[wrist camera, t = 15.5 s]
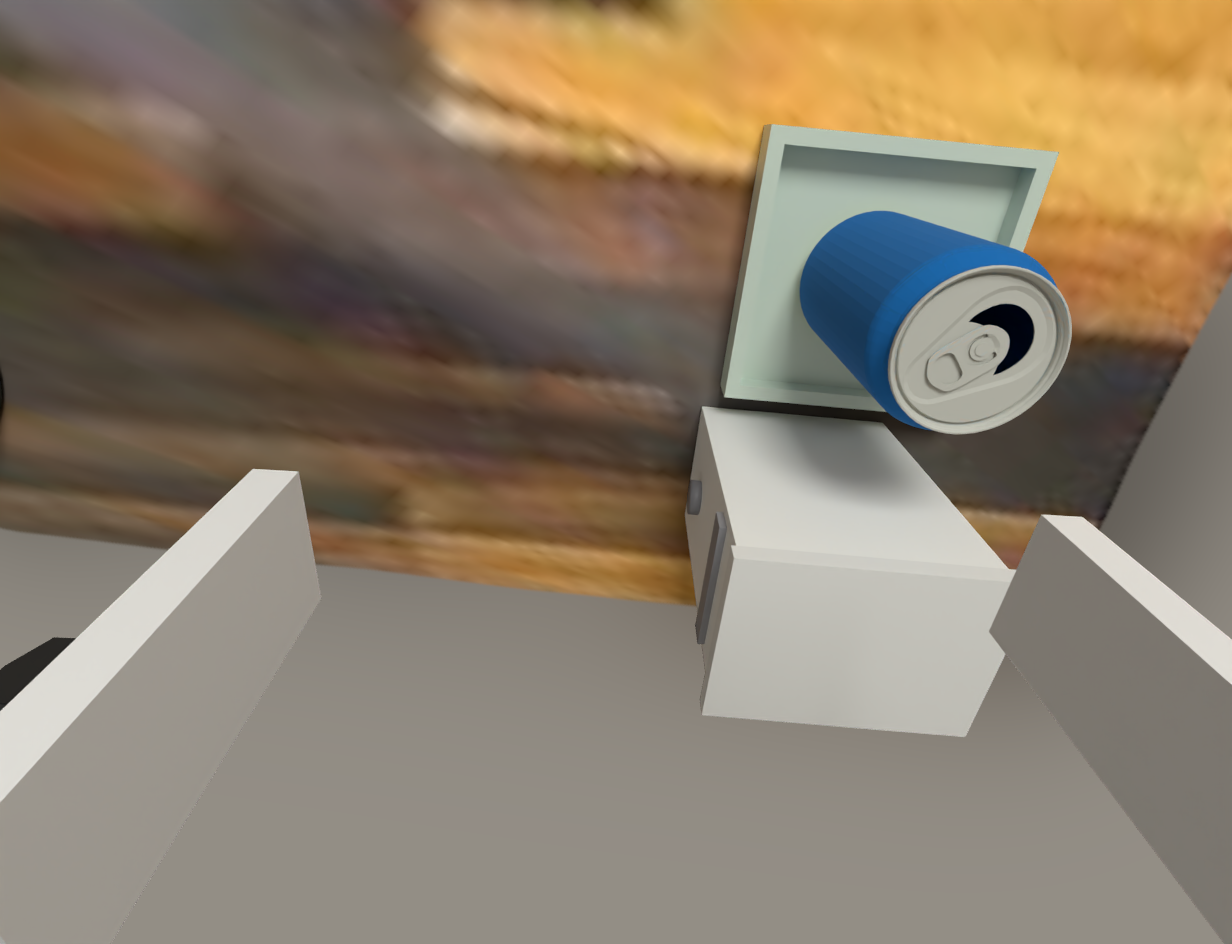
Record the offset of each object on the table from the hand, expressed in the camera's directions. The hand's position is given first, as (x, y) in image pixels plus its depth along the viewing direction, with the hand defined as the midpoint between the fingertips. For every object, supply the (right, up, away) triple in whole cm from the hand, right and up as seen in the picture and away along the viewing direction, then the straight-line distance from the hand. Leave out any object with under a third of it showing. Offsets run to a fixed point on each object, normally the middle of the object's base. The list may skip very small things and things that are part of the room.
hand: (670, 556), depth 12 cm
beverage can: (+11, +11, +20) cm, 25 cm away
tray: (+11, +11, +20) cm, 26 cm away
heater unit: (+8, +2, +25) cm, 27 cm away
